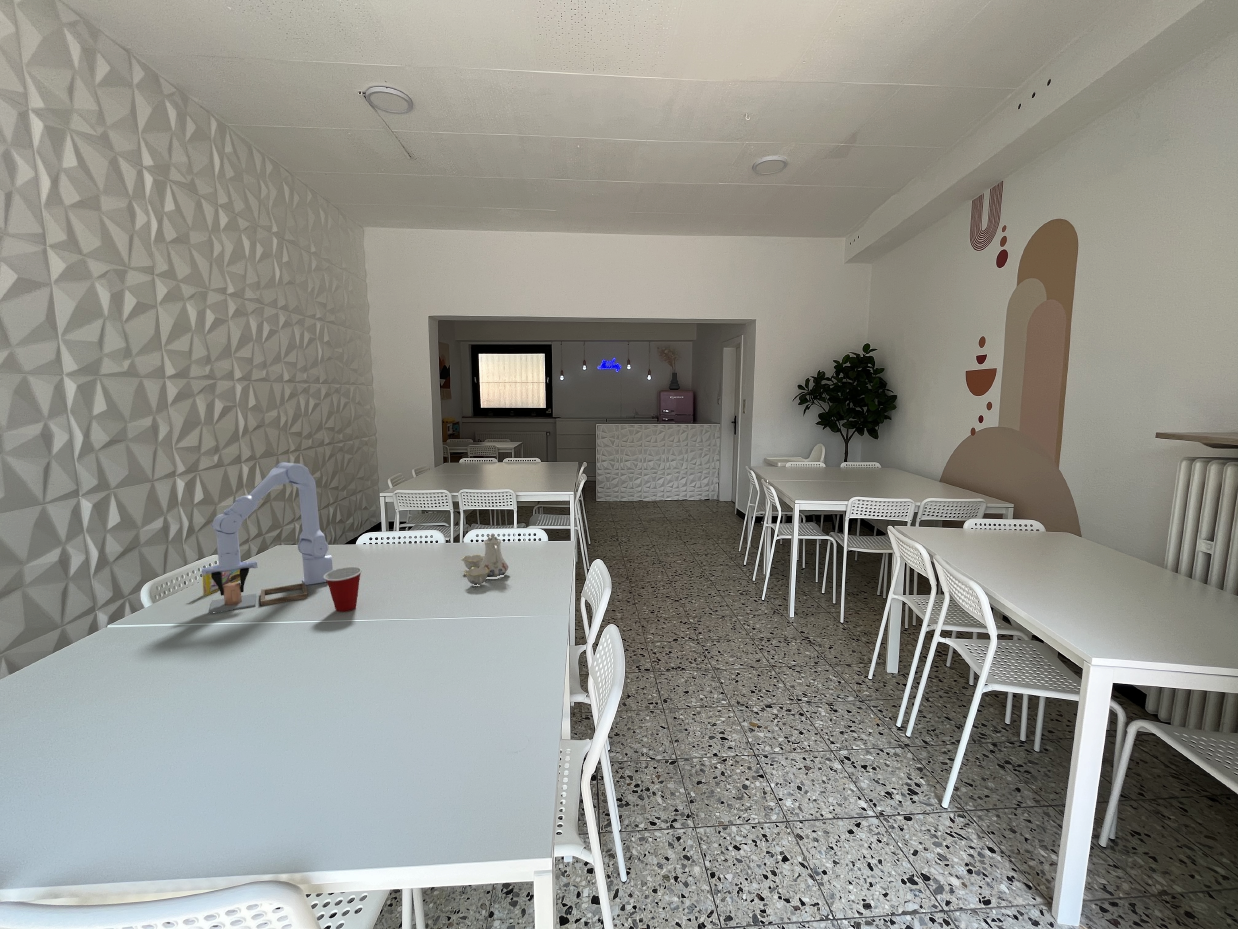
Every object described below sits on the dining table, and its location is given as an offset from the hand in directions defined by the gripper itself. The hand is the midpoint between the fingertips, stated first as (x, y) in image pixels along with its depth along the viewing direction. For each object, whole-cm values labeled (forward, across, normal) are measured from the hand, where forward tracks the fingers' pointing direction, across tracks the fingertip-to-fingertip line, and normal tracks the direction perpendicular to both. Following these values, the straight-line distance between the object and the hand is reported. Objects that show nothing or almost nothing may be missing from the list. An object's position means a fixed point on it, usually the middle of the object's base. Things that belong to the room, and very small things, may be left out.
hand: (232, 593), depth 180 cm
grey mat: (+4, 0, 0) cm, 4 cm away
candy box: (+4, +4, -22) cm, 23 cm away
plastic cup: (+4, -30, +24) cm, 39 cm away
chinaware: (+4, -77, +17) cm, 79 cm away
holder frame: (+4, -14, 0) cm, 14 cm away
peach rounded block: (+3, 0, 0) cm, 3 cm away
